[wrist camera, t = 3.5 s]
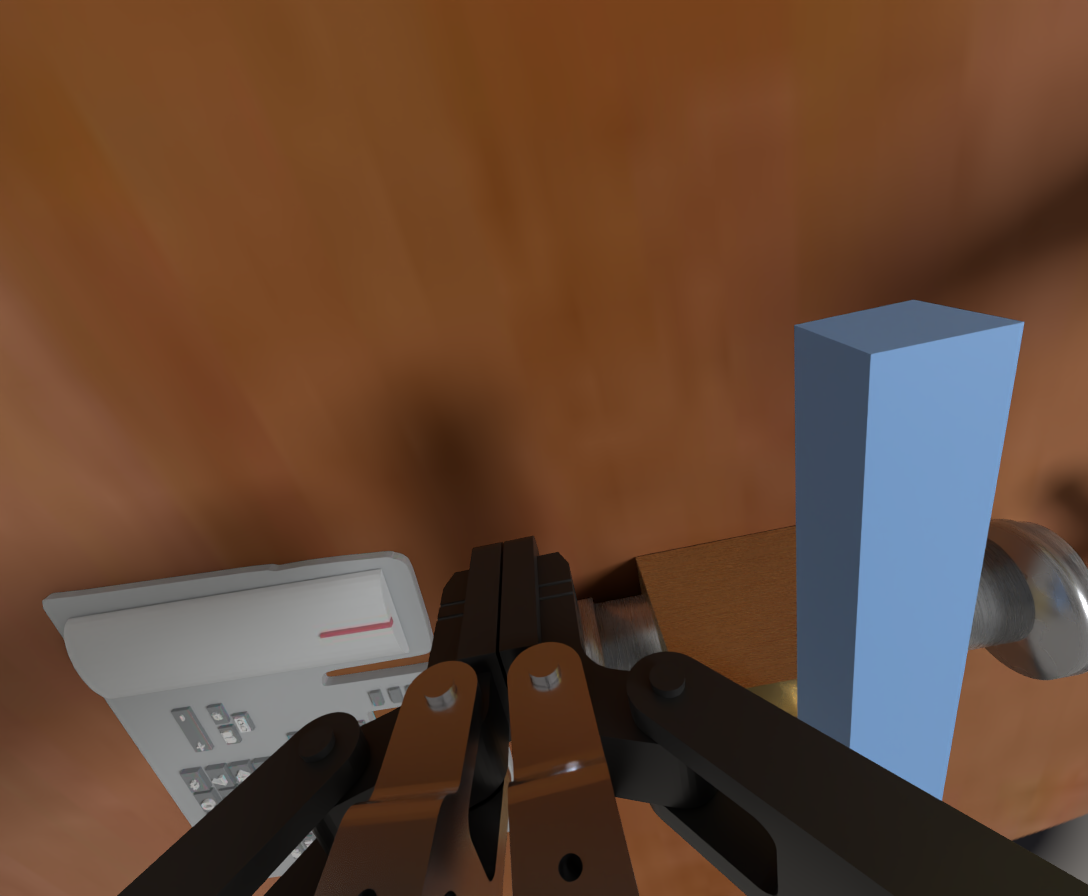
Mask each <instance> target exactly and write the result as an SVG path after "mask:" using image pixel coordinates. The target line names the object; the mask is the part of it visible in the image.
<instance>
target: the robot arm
mask: <svg viewBox="0 0 1088 896" xmlns="http://www.w3.org/2000/svg"><path fill="white" fill-rule="evenodd" d="M440 605H441V608H439V613H438V621H437V623H436V628H435V633H434V637H433V642H432V647H431V652H430V657H429V662H428V667H427V669H426V670H424V671H423V672H422V673H421V674H419V675H418V676H417V677H416V678H415V679H414V680H413V681H412V683H411V684H410V685H409V687H408V689H407V691H406V693H405V695H404V698H403V702H402V705H401V706H400V707H398V708H397V709H395V710H393V711H391V712H389V713H387V714H385V715H383V716H381V717H379V718H377V719H375V720H372V721H370V722H368V723H366V724H364V725H362V726H360V725H359V723H358V721H357V720H356V718H355V717H354V716H353V715H351V714H349V713H345V712H334V713H329V714H326V715H323V716H320V717H318V718H316V719H314V720H313V721H311V722H309V723H308V724H306V725H305V726H304V727H302V728H301V729H300V730H299V731H298V732H297V733H295V734H294V735H293V736H292V737H291V738H290V739H289V740H288V741H287V742H286V743H284V744H283V745H282V746H281V747H280V748H279V749H278V750H277V751H276V752H275V753H274V754H272V755H271V756H270V757H269V758H268V759H267V760H266V761H265V762H264V763H263V764H261V765H260V766H259V767H258V768H257V769H256V770H255V771H254V772H253V773H252V774H250V775H249V776H248V777H247V778H246V779H245V780H244V781H243V782H242V783H241V784H239V785H238V786H237V787H236V788H235V789H234V790H233V791H232V792H231V793H230V794H228V795H227V796H226V797H225V798H224V799H223V800H222V801H221V802H220V803H219V804H217V805H216V806H215V807H214V808H213V809H212V810H211V811H210V812H209V813H208V814H206V815H205V816H204V817H203V818H202V819H201V820H200V821H199V822H198V823H197V824H195V825H194V826H193V827H192V828H191V829H190V830H189V831H188V832H187V833H186V834H185V835H183V836H182V837H181V838H180V839H179V840H178V841H177V842H176V843H175V844H174V845H172V846H171V847H170V848H169V849H168V850H167V851H166V852H165V853H164V854H163V855H161V856H160V857H159V858H158V859H157V860H156V861H155V862H154V863H153V864H152V865H150V866H149V867H148V868H147V869H146V870H145V871H144V872H143V873H142V874H141V875H139V876H138V877H137V878H136V879H135V880H134V881H133V882H132V883H131V884H130V885H128V886H127V887H126V888H125V889H124V890H123V891H122V892H121V893H120V894H119V895H117V896H252V895H253V894H254V892H255V891H256V890H257V889H258V888H259V887H260V886H261V885H262V884H263V883H264V882H265V881H266V879H267V878H268V877H269V876H270V875H271V874H272V873H273V872H274V871H275V870H276V869H277V868H278V867H279V865H280V864H281V863H282V862H283V861H284V860H285V859H286V858H287V857H288V856H289V855H290V854H291V852H292V851H293V850H294V849H295V848H296V847H297V846H298V845H299V844H300V843H301V842H302V841H303V839H304V838H305V837H306V836H307V835H308V834H309V833H310V832H311V831H312V832H313V834H314V835H315V837H316V839H315V840H314V841H313V842H312V843H311V844H310V845H309V846H308V847H307V849H306V850H305V851H304V852H303V853H302V854H301V855H300V856H299V857H298V858H297V860H296V861H295V862H294V863H293V864H292V865H291V866H290V867H289V868H288V869H287V871H286V872H285V873H284V874H283V875H282V876H281V877H280V878H279V879H278V880H277V882H276V883H275V884H274V885H273V886H272V887H271V888H270V889H269V890H268V891H267V893H266V894H265V895H264V896H503V877H504V866H505V854H506V842H507V830H508V818H509V835H510V854H511V872H512V890H513V896H639V893H638V889H637V885H636V880H635V876H634V872H633V868H632V864H631V860H630V856H629V852H628V848H627V844H626V840H625V836H624V832H623V828H622V823H621V819H620V815H619V811H618V807H617V803H616V799H615V797H619V798H624V799H630V800H635V801H641V802H646V803H650V805H651V807H652V809H653V810H654V812H655V813H656V814H657V815H658V816H659V817H660V818H661V819H662V820H663V821H664V822H665V823H666V824H667V825H669V826H670V827H671V828H672V829H673V830H674V831H675V832H676V833H678V834H679V835H680V836H681V837H682V838H683V839H684V840H685V841H687V842H688V843H689V844H690V845H691V846H692V847H693V848H694V849H696V850H697V851H698V852H699V853H700V854H701V855H702V856H703V857H704V858H706V859H707V860H708V861H709V862H710V863H711V864H712V865H713V866H715V867H716V868H717V869H718V870H719V871H720V872H721V873H722V874H724V875H725V876H726V877H727V878H728V879H729V880H730V881H731V882H732V883H734V884H735V885H736V886H737V887H738V888H739V889H740V890H741V891H743V892H744V893H745V894H746V895H747V896H1088V885H1087V884H1086V883H1084V882H1082V881H1081V880H1078V879H1077V878H1075V877H1073V876H1072V875H1070V874H1068V873H1067V872H1065V871H1063V870H1061V869H1059V868H1058V867H1056V866H1054V865H1052V864H1051V863H1049V862H1047V861H1046V860H1044V859H1042V858H1040V857H1039V856H1037V855H1035V854H1033V853H1031V852H1030V851H1028V850H1026V849H1025V848H1023V847H1021V846H1019V845H1018V844H1016V843H1014V842H1013V841H1011V840H1009V839H1007V838H1006V837H1004V836H1002V835H1000V834H999V833H997V832H995V831H993V830H992V829H990V828H988V827H986V826H985V825H983V824H981V823H979V822H978V821H976V820H974V819H972V818H971V817H969V816H967V815H965V814H964V813H962V812H960V811H958V810H957V809H955V808H953V807H951V806H950V805H948V804H946V803H944V802H943V801H941V800H939V799H937V798H936V797H934V796H932V795H931V794H929V793H927V792H925V791H924V790H922V789H920V788H918V787H917V786H915V785H913V784H911V783H910V782H908V781H906V780H904V779H903V778H901V777H899V776H897V775H896V774H894V773H892V772H890V771H889V770H887V769H885V768H883V767H882V766H880V765H878V764H876V763H875V762H873V761H871V760H869V759H868V758H866V757H864V756H862V755H861V754H859V753H857V752H856V751H854V750H852V749H850V748H849V747H847V746H845V745H843V744H842V743H840V742H838V741H836V740H835V739H833V738H831V737H829V736H828V735H826V734H824V733H822V732H821V731H819V730H817V729H815V728H814V727H812V726H810V725H808V724H807V723H805V722H803V721H801V720H800V719H798V718H796V717H794V716H793V715H791V714H789V713H787V712H786V711H784V710H782V709H781V708H779V707H777V706H775V705H774V704H772V703H770V702H768V701H767V700H765V699H763V698H761V697H760V696H758V695H756V694H754V693H753V692H751V691H749V690H747V689H746V688H744V687H742V686H740V685H739V684H737V683H735V682H733V681H732V680H730V679H728V678H726V677H725V676H723V675H721V674H719V673H718V672H716V671H714V670H712V669H711V668H709V667H707V666H706V665H704V664H702V663H700V662H699V661H697V660H695V659H693V658H691V657H689V656H687V655H685V654H681V653H677V652H668V651H665V652H657V653H653V654H650V655H647V656H645V657H644V658H642V659H640V660H639V661H638V662H637V663H636V664H635V665H634V666H633V667H632V668H631V670H630V671H628V670H618V669H611V668H607V667H604V666H601V665H599V664H597V663H596V662H594V661H593V660H591V659H590V658H589V657H588V656H587V655H586V649H585V642H584V636H583V630H582V624H581V617H580V612H579V607H578V603H577V598H576V594H575V589H574V585H573V580H572V576H571V571H570V567H569V563H568V562H567V561H566V560H565V559H564V558H563V557H562V556H561V555H560V554H559V552H556V553H551V554H546V555H541V556H539V552H538V548H537V544H536V541H535V538H534V536H530V537H525V538H520V539H515V540H510V541H505V542H504V543H503V542H500V543H495V544H490V545H485V546H480V547H475V548H473V549H472V555H471V562H470V569H469V570H466V571H461V572H456V573H454V575H453V576H452V577H451V579H450V580H449V582H448V583H447V584H446V586H445V587H444V589H443V594H442V598H441V603H440ZM510 741H511V743H512V757H513V773H514V779H513V781H511V773H510V770H509V767H508V756H509V742H510Z"/></svg>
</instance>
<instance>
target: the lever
mask: <svg viewBox="0 0 1088 896" xmlns="http://www.w3.org/2000/svg"><path fill="white" fill-rule="evenodd" d="M1023 327H1024V322H1022V321H1017V320H1012V319H1007V318H1002V317H997V316H992V315H987V314H982V313H977V312H972V311H967V310H962V309H957V308H952V307H947V306H942V305H937V304H932V303H927V302H923V301H918V300H910V301H905V302H900V303H896V304H891V305H886V306H882V307H877V308H872V309H867V310H863V311H858V312H853V313H849V314H844V315H839V316H835V317H830V318H825V319H821V320H816V321H811V322H807V323H802V324H797V325H794V342H795V465H796V588H797V711H798V719H800V720H801V721H803V722H805V723H807V724H808V725H810V726H812V727H814V728H815V729H817V730H819V731H821V732H822V733H824V734H826V735H828V736H829V737H831V738H833V739H835V740H836V741H838V742H840V743H842V744H843V745H845V746H847V747H849V748H850V749H852V750H854V751H856V752H857V753H859V754H861V755H862V756H864V757H866V758H868V759H869V760H871V761H873V762H875V763H876V764H878V765H880V766H882V767H883V768H885V769H887V770H889V771H890V772H892V773H894V774H896V775H897V776H899V777H901V778H903V779H904V780H906V781H908V782H910V783H911V784H913V785H915V786H917V787H918V788H920V789H922V790H924V791H925V792H927V793H929V794H931V795H932V796H934V797H936V798H937V799H939V800H941V801H942V796H943V790H944V784H945V779H946V773H947V767H948V761H949V755H950V750H951V744H952V738H953V732H954V726H955V721H956V715H957V709H958V703H959V698H960V692H961V686H962V680H963V674H964V669H965V663H966V657H967V651H968V646H969V640H970V634H971V628H972V622H973V617H974V611H975V605H976V599H977V593H978V588H979V582H980V576H981V570H982V565H983V559H984V553H985V547H986V541H987V536H988V530H989V524H990V518H991V512H992V507H993V501H994V495H995V489H996V484H997V478H998V472H999V466H1000V460H1001V455H1002V449H1003V443H1004V437H1005V432H1006V426H1007V420H1008V414H1009V408H1010V403H1011V397H1012V391H1013V385H1014V379H1015V374H1016V368H1017V362H1018V356H1019V351H1020V345H1021V339H1022V333H1023Z"/></svg>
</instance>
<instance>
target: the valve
mask: <svg viewBox="0 0 1088 896" xmlns="http://www.w3.org/2000/svg"><path fill="white" fill-rule="evenodd" d="M636 563H637V569H638V575H639V581H640V588H641V594H642V595H637V596H632V597H627V598H622V599H617V600H612V601H607V602H601V603H596V604H594V603H593V599H592V598H587V599H582V600H577V603H578V607H579V612H580V617H581V624H582V630H583V636H584V642H585V649H586V655H587V656H588V657H589V658H590V659H591V660H593V661H594V662H596V663H597V664H599V665H601V666H604V667H607V668H611V669H618V670H628V671H630V670H631V668H632V667H633V666H634V665H635V664H636V663H637V662H638V661H639V660H640V659H642V658H644V657H645V656H647V655H650V654H653V653H657V652H665V651H668V652H677V653H681V654H685V655H687V656H689V657H691V658H693V659H695V660H697V661H699V662H700V663H702V664H704V665H706V666H707V667H709V668H711V669H712V670H714V671H716V672H718V673H719V674H721V675H723V676H725V677H726V678H728V679H730V680H732V681H733V682H735V683H737V684H739V685H740V686H742V687H744V688H746V689H747V690H749V691H751V692H753V693H754V694H756V695H758V696H760V697H761V698H763V699H765V700H767V701H768V702H770V703H772V704H774V705H775V706H777V707H779V708H781V709H782V710H784V711H786V712H787V713H789V714H791V715H793V716H794V717H796V718H798V711H797V588H796V526H792V527H787V528H782V529H777V530H772V531H766V532H761V533H756V534H751V535H746V536H741V537H736V538H731V539H726V540H721V541H716V542H711V543H706V544H701V545H695V546H690V547H685V548H680V549H675V550H670V551H665V552H660V553H655V554H650V555H645V556H640V557H636ZM984 647H985V648H986V649H987V650H988V651H989V652H990V653H991V654H992V655H993V656H994V657H995V658H996V659H998V660H999V661H1000V662H1002V663H1003V664H1004V665H1006V666H1007V667H1009V668H1010V669H1012V670H1014V671H1015V672H1018V673H1020V674H1022V675H1024V676H1027V677H1030V678H1033V679H1039V680H1052V679H1058V678H1063V677H1069V676H1074V675H1079V674H1083V673H1085V672H1087V671H1088V569H1087V567H1086V566H1085V564H1084V562H1083V561H1082V559H1081V558H1080V557H1079V555H1078V554H1077V553H1076V552H1075V550H1074V549H1073V548H1072V547H1071V546H1070V545H1069V544H1068V543H1067V542H1066V541H1065V540H1064V539H1062V538H1061V537H1060V536H1058V535H1057V534H1056V533H1054V532H1052V531H1051V530H1049V529H1047V528H1045V527H1043V526H1041V525H1038V524H1035V523H1031V522H1024V521H1023V522H1016V521H1012V520H1007V519H993V520H990V524H989V530H988V536H987V541H986V547H985V553H984V559H983V565H982V570H981V576H980V582H979V588H978V593H977V599H976V605H975V611H974V617H973V622H972V628H971V634H970V640H969V646H968V650H974V649H979V648H984Z"/></svg>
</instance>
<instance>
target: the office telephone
mask: <svg viewBox="0 0 1088 896" xmlns="http://www.w3.org/2000/svg"><path fill="white" fill-rule="evenodd" d="M42 603H43V609H44V610H45V612H46V613H47V615H48V616H49V618H50V619H51V621H52V622H53V624H54V625H55V627H56V628H57V630H58V631H59V633H60V634H61V636H62V637H63V639H64V641H65V646H66V649H67V652H68V655H69V658H70V660H71V662H72V664H73V666H74V668H75V670H76V671H77V673H78V674H79V676H80V677H81V678H82V679H83V681H84V682H85V683H86V684H87V685H88V686H89V687H90V688H91V689H92V690H93V691H94V692H96V693H97V694H99V695H101V696H102V697H104V699H105V700H106V702H107V703H108V705H109V706H110V708H111V709H112V710H113V712H114V713H115V715H116V716H117V718H118V719H119V721H120V722H121V724H122V725H123V726H124V728H125V729H126V731H127V732H128V734H129V735H130V737H131V738H132V740H133V741H134V743H135V744H136V745H137V747H138V748H139V750H140V751H141V753H142V754H143V756H144V757H145V759H146V760H147V761H148V763H149V764H150V766H151V767H152V769H153V770H154V772H155V773H156V775H157V776H158V777H159V779H160V780H161V782H162V783H163V785H164V786H165V788H166V789H167V791H168V792H169V794H170V795H171V796H172V798H173V799H174V801H175V802H176V804H177V805H178V807H179V808H180V810H181V811H182V812H183V814H184V815H185V817H186V818H187V820H188V821H189V823H190V824H191V826H192V827H193V826H194V825H195V824H197V823H198V822H199V821H200V820H201V819H202V818H203V817H204V816H205V815H206V814H208V813H209V812H210V811H211V810H212V809H213V808H214V807H215V806H216V805H217V804H219V803H220V802H221V801H222V800H223V799H224V798H225V797H226V796H227V795H228V794H230V793H231V792H232V791H233V790H234V789H235V788H236V787H237V786H238V785H239V784H241V783H242V782H243V781H244V780H245V779H246V778H247V777H248V776H249V775H250V774H252V773H253V772H254V771H255V770H256V769H257V768H258V767H259V766H260V765H261V764H263V763H264V762H265V761H266V760H267V759H268V758H269V757H270V756H271V755H272V754H274V753H275V752H276V751H277V750H278V749H279V748H280V747H281V746H282V745H283V744H284V743H286V742H287V741H288V740H289V739H290V738H291V737H292V736H293V735H294V734H295V733H297V732H298V731H299V730H300V729H301V728H302V727H304V726H305V725H306V724H308V723H309V722H311V721H313V720H314V719H316V718H318V717H320V716H323V715H326V714H329V713H334V712H345V713H349V714H351V715H353V716H354V717H355V718H356V720H357V721H358V723H359V725H360V726H362V725H364V724H366V723H368V722H370V721H372V720H375V719H376V718H375V715H374V713H373V711H376V710H382V709H388V708H394V707H400V706H401V705H402V702H403V698H404V695H405V693H406V691H407V689H408V687H409V685H410V684H411V683H412V681H413V680H414V679H415V678H416V677H417V676H418V675H419V674H421V673H422V672H423V671H424V670H426V669H427V667H428V662H425V663H419V664H413V665H407V666H401V667H394V668H387V669H381V670H374V671H367V672H361V673H354V674H347V675H341V676H334V677H328V676H327V675H326V673H327V672H329V671H333V670H337V669H343V668H348V667H354V666H360V665H366V664H372V663H377V662H383V661H389V660H395V659H401V658H407V657H412V656H418V655H423V654H426V653H428V652H430V651H431V647H432V642H433V633H432V629H431V625H430V621H429V617H428V614H427V611H426V607H425V604H424V601H423V598H422V595H421V592H420V588H419V585H418V582H417V579H416V576H415V573H414V569H413V566H412V564H411V563H410V561H409V559H408V558H407V557H406V556H405V555H403V554H401V553H396V552H393V551H384V552H374V553H364V554H354V555H344V556H336V557H328V558H320V559H312V560H305V561H299V562H294V563H288V564H283V565H276V564H267V565H257V566H249V567H242V568H235V569H228V570H221V571H213V572H206V573H199V574H192V575H185V576H178V577H171V578H164V579H157V580H149V581H142V582H135V583H128V584H121V585H114V586H107V587H100V588H93V589H86V590H77V591H68V592H59V593H52V594H50V595H49V596H48V597H47V598H45V599H44V600H43V601H42ZM508 767H509V770H510V773H511V781H513V779H514V773H513V760H512V756H511V752H510V749H509V756H508ZM507 832H509V818H508V830H507ZM315 839H316V837H315V835H314V834H313V832H312V831H311V832H310V833H309V834H308V835H307V836H306V837H305V838H304V839H303V841H302V842H301V843H300V844H299V845H298V846H297V847H296V848H295V849H294V850H293V851H292V852H291V854H290V855H289V856H288V857H287V858H286V859H285V860H284V861H283V862H282V863H281V864H280V865H279V867H278V868H277V869H276V870H275V871H274V872H273V873H272V874H271V875H270V876H269V877H268V878H271V877H277V876H282V875H283V874H284V873H285V872H286V871H287V869H288V868H289V867H290V866H291V865H292V864H293V863H294V862H295V861H296V860H297V858H298V857H299V856H300V855H301V854H302V853H303V852H304V851H305V850H306V849H307V847H308V846H309V845H310V844H311V843H312V842H313V841H314V840H315Z"/></svg>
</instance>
